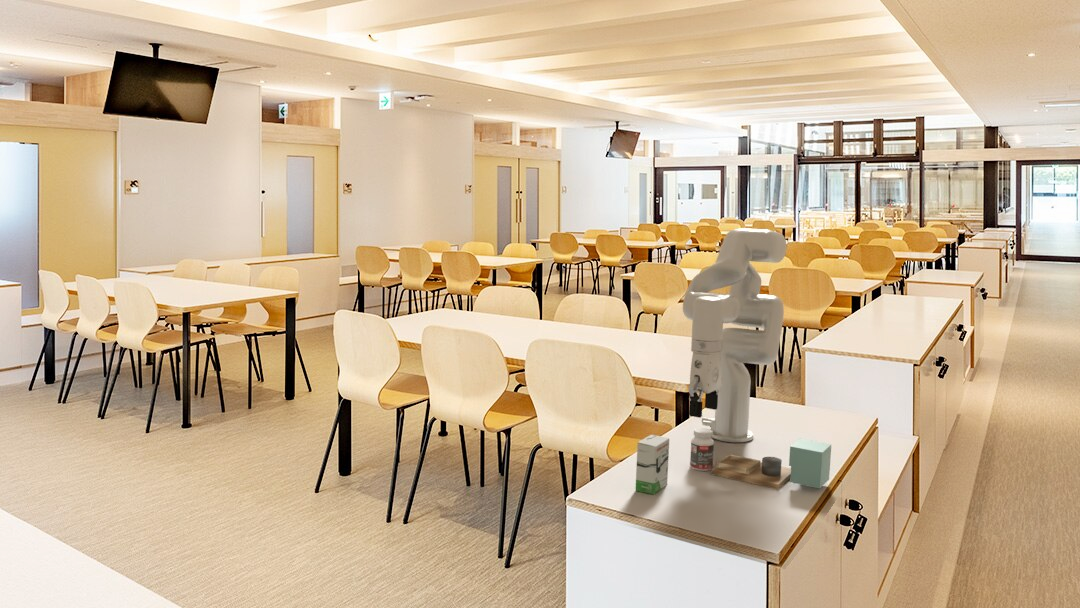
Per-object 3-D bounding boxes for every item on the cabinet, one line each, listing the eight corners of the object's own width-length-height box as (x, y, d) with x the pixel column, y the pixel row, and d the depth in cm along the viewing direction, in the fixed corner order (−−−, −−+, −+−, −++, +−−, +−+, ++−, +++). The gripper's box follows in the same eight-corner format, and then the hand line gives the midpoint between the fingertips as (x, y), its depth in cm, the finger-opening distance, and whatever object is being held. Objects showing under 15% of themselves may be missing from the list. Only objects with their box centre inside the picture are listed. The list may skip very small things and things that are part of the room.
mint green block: (788, 481, 200) (790, 446, 199) (797, 472, 206) (800, 438, 205) (820, 488, 196) (822, 452, 195) (829, 479, 202) (831, 444, 201)
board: (711, 474, 209) (712, 456, 208) (730, 460, 219) (731, 443, 218) (778, 489, 199) (779, 470, 198) (795, 473, 210) (796, 455, 209)
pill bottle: (699, 473, 209) (701, 435, 208) (685, 466, 214) (687, 428, 213) (717, 469, 212) (719, 432, 211) (703, 462, 217) (704, 426, 216)
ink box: (653, 495, 194) (655, 446, 192) (634, 490, 197) (636, 442, 195) (668, 484, 201) (670, 436, 200) (649, 480, 204) (651, 433, 202)
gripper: (706, 352, 199) (703, 422, 201) (733, 343, 213) (730, 408, 216) (678, 349, 203) (675, 417, 206) (706, 339, 218) (703, 403, 220)
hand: (703, 412), depth 211 cm, fingers open, 9 cm apart
